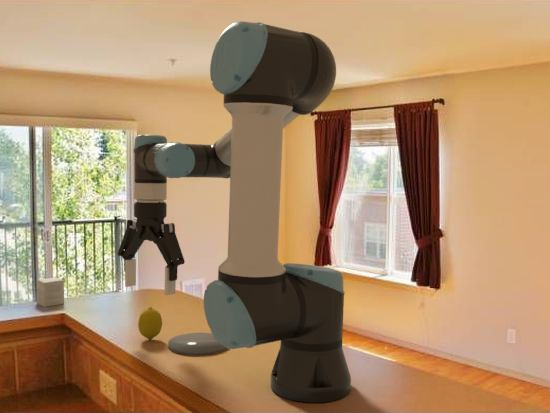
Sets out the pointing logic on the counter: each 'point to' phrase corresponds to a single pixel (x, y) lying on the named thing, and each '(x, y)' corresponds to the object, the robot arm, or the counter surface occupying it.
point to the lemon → (150, 323)
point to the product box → (50, 291)
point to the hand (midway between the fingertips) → (149, 290)
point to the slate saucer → (195, 344)
